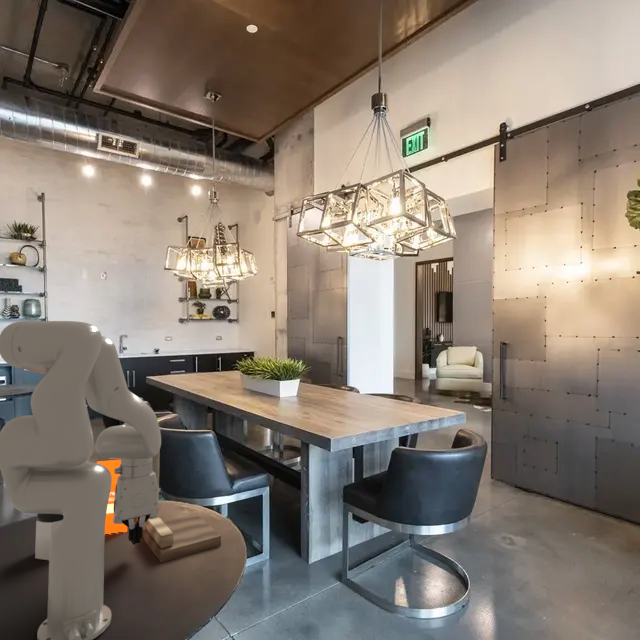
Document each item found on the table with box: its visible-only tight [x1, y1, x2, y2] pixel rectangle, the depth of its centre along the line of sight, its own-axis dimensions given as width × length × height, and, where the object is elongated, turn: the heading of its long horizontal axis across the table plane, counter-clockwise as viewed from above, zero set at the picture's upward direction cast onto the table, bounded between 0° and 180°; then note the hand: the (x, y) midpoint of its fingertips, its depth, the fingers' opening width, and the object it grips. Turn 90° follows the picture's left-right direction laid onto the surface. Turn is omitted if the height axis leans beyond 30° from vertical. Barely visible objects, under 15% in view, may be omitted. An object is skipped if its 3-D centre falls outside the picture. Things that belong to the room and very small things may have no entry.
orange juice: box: [96, 459, 128, 535], centre depth 131 cm, size 8×9×20 cm
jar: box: [34, 514, 64, 561], centre depth 116 cm, size 9×8×12 cm
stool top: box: [142, 513, 222, 563], centre depth 124 cm, size 18×16×2 cm
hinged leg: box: [145, 514, 173, 548], centre depth 120 cm, size 16×3×3 cm, turn 36°
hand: (135, 541), depth 114 cm, fingers closed
